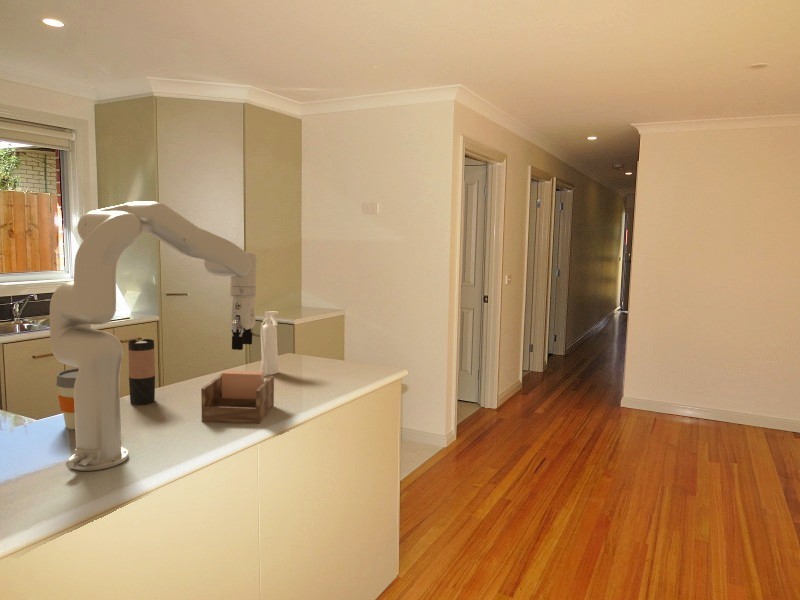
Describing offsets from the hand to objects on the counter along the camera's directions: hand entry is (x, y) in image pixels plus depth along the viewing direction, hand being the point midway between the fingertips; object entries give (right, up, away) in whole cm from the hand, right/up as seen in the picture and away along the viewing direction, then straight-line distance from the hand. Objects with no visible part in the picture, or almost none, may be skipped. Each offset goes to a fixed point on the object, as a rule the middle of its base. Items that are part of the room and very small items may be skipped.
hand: (242, 346), depth 170 cm
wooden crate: (-1, -21, -1) cm, 21 cm away
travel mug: (-34, -19, +7) cm, 40 cm away
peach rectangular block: (-1, -19, +2) cm, 19 cm away
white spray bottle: (-4, -15, +48) cm, 51 cm away
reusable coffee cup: (-41, -21, -15) cm, 48 cm away
